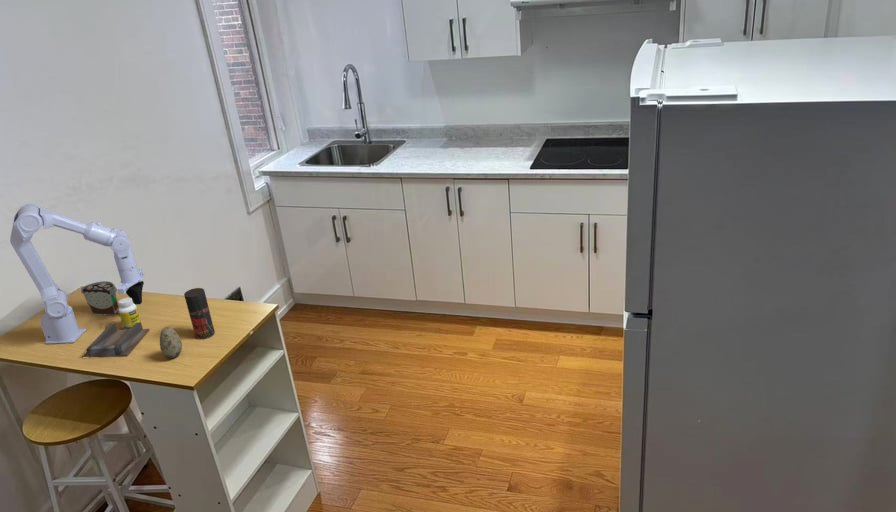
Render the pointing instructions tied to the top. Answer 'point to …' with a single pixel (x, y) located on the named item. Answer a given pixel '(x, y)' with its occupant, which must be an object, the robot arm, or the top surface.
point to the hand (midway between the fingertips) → (138, 303)
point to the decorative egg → (170, 342)
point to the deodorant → (199, 313)
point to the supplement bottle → (128, 313)
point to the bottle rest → (116, 341)
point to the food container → (101, 298)
